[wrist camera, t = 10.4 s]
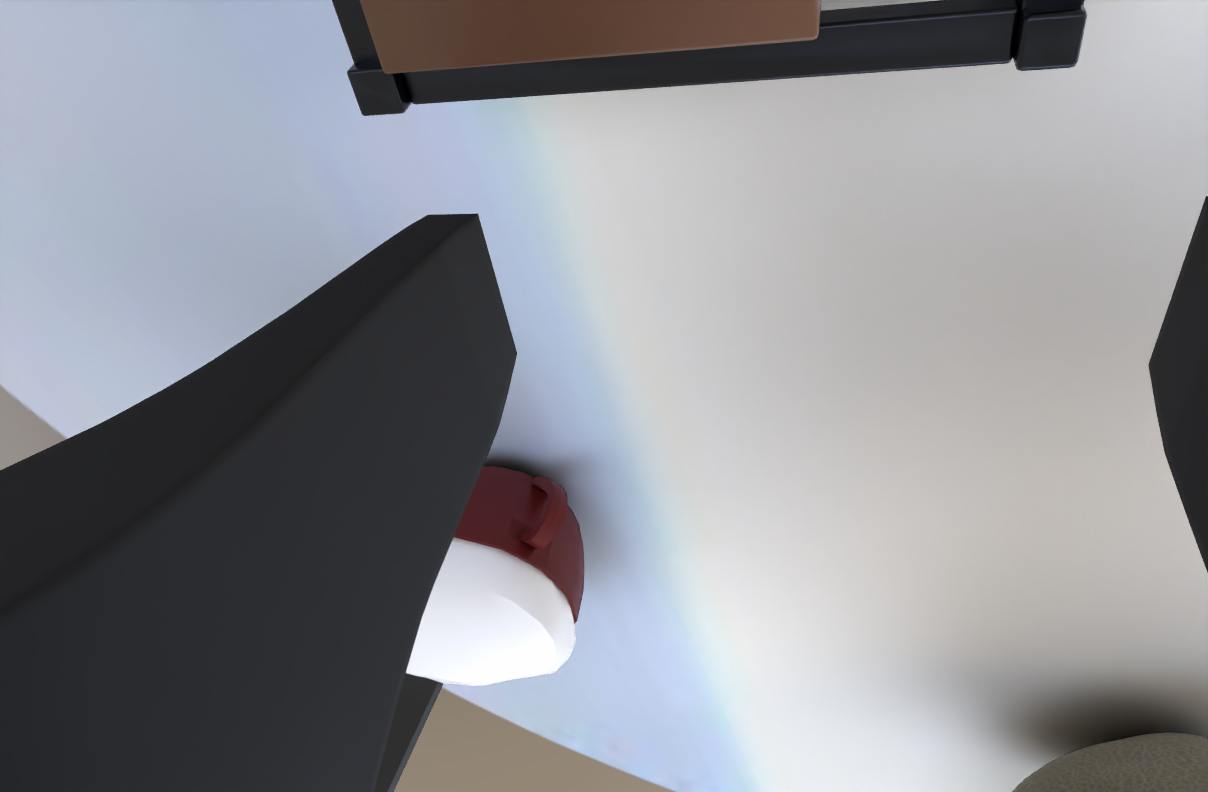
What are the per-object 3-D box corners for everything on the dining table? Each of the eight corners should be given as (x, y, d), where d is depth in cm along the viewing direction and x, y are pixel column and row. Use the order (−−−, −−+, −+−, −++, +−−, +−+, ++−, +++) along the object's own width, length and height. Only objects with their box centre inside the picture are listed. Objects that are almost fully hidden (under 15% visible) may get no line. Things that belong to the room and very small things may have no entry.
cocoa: (558, 403, 26) (414, 825, 17) (667, 532, 29) (589, 943, 21) (340, 479, 31) (143, 839, 22) (453, 583, 34) (319, 933, 25)
